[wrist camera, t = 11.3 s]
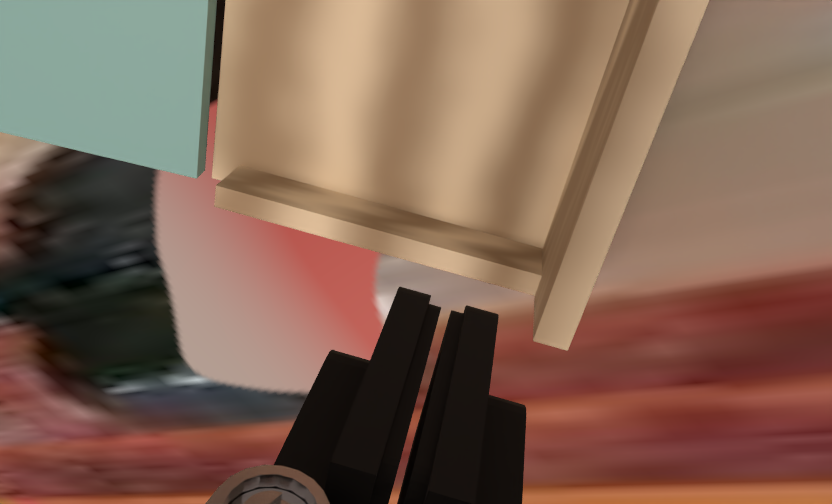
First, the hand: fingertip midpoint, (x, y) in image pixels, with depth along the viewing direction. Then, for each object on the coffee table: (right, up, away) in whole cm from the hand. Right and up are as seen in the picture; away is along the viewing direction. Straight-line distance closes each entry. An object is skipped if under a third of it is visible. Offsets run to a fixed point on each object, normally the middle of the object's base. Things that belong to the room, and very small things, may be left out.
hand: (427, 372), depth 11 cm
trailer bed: (+1, +13, +24) cm, 27 cm away
